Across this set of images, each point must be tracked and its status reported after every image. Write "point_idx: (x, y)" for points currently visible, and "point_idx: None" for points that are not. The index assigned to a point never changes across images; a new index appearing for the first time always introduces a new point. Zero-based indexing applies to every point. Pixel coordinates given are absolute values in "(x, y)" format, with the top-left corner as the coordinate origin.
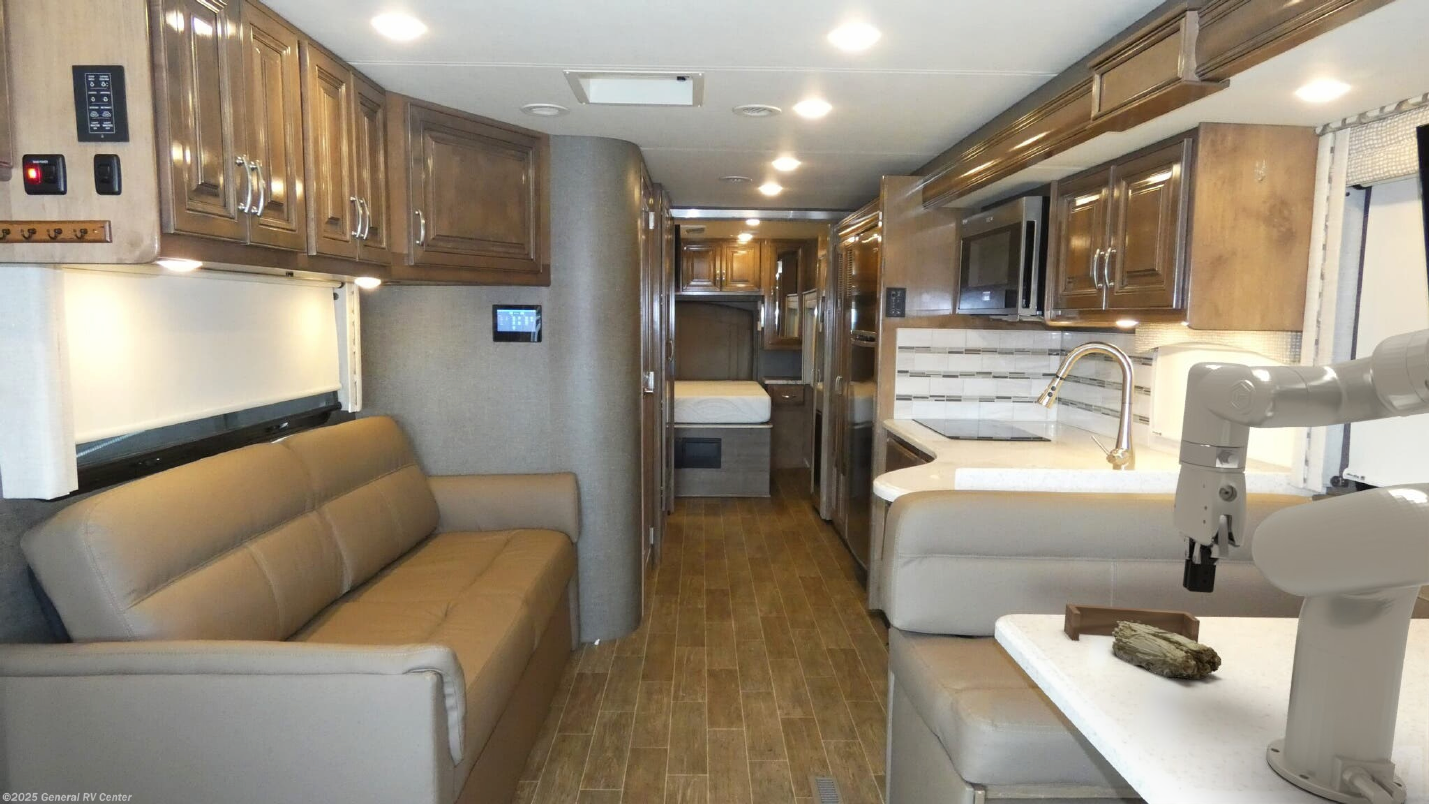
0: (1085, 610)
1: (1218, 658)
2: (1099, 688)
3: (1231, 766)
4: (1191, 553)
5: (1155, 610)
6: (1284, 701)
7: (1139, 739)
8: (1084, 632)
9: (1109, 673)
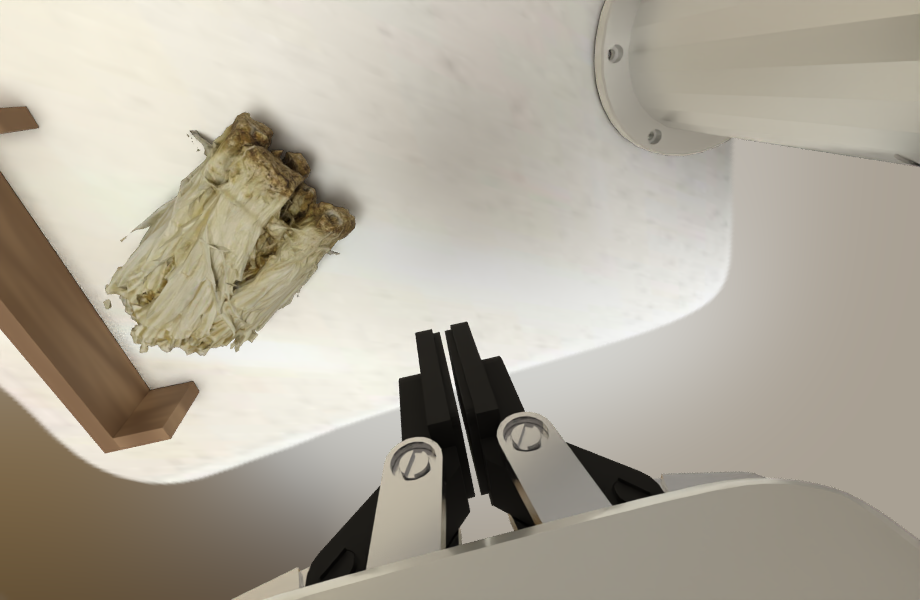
0: (101, 411)
1: (252, 127)
2: None
3: (665, 216)
4: (460, 533)
5: None
6: None
7: (599, 326)
8: (133, 371)
9: (354, 341)
